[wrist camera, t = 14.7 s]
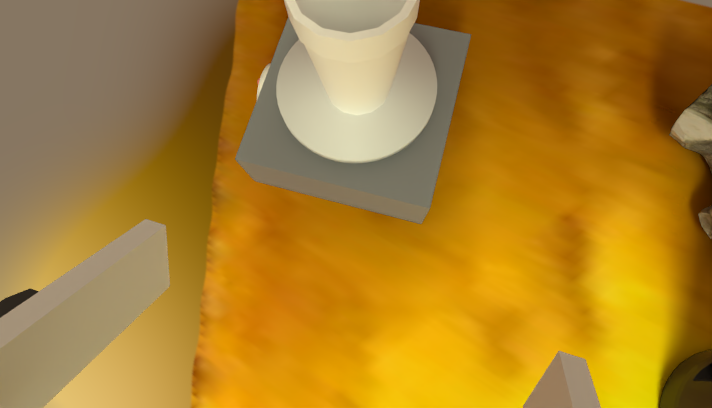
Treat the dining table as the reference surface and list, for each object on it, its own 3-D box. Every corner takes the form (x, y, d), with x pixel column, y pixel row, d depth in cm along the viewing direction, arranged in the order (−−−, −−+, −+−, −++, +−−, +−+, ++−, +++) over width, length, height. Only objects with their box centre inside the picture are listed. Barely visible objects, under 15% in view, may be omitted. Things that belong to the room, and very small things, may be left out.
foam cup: (348, 147, 38) (336, 66, 25) (292, 80, 40) (255, -26, 27) (425, 91, 39) (450, -13, 26) (367, 29, 41) (365, -95, 28)
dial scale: (457, 72, 49) (475, 21, 41) (421, 224, 44) (433, 203, 36) (297, 38, 52) (282, -18, 43) (246, 178, 47) (217, 148, 38)
